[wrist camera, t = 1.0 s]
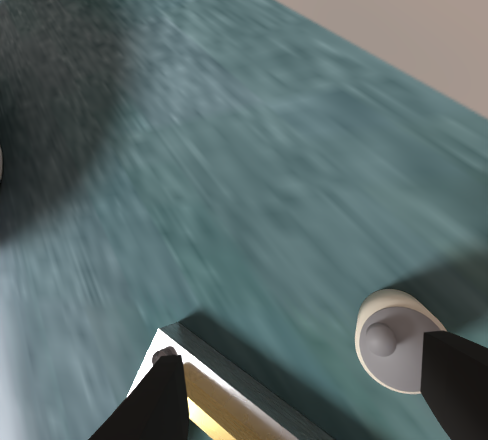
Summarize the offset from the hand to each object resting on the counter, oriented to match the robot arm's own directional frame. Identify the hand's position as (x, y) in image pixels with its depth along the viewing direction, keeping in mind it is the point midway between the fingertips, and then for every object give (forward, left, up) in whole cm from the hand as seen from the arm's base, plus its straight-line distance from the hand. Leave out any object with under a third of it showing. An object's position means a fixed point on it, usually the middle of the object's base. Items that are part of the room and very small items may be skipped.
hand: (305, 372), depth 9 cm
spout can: (-3, -1, -12) cm, 13 cm away
